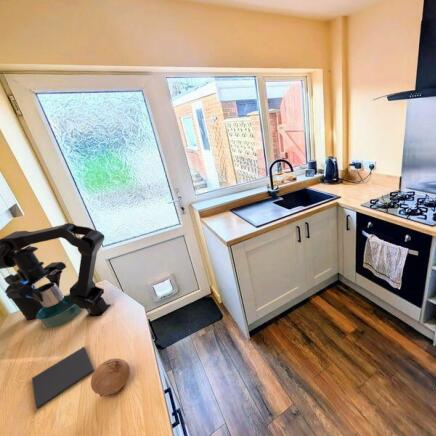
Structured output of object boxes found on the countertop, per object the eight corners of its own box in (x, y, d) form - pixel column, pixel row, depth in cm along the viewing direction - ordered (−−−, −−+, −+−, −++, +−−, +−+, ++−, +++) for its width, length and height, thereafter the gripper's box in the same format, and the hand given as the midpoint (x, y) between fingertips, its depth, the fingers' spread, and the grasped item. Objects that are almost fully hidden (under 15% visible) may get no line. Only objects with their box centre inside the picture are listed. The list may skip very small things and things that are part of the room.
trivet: (33, 379, 80) (31, 378, 80) (84, 348, 89) (83, 346, 89) (37, 409, 71) (36, 407, 71) (94, 371, 80) (93, 369, 80)
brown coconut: (134, 383, 78) (139, 359, 76) (105, 410, 69) (110, 384, 67) (111, 368, 80) (116, 344, 77) (80, 392, 71) (84, 367, 69)
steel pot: (67, 294, 103) (59, 281, 101) (53, 306, 97) (44, 293, 95) (53, 295, 104) (44, 282, 101) (38, 307, 98) (28, 294, 95)
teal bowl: (92, 302, 112) (87, 293, 110) (66, 328, 99) (59, 318, 97) (63, 304, 113) (57, 295, 110) (33, 330, 100) (26, 320, 98)
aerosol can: (23, 324, 104) (-6, 287, 95) (31, 312, 110) (4, 276, 102) (47, 316, 107) (21, 279, 98) (53, 304, 114) (30, 269, 105)
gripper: (33, 251, 102) (52, 281, 108) (-20, 281, 85) (7, 314, 92) (57, 249, 101) (75, 279, 108) (9, 279, 84) (34, 312, 91)
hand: (49, 295), depth 99 cm, fingers closed on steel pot, 6 cm apart
